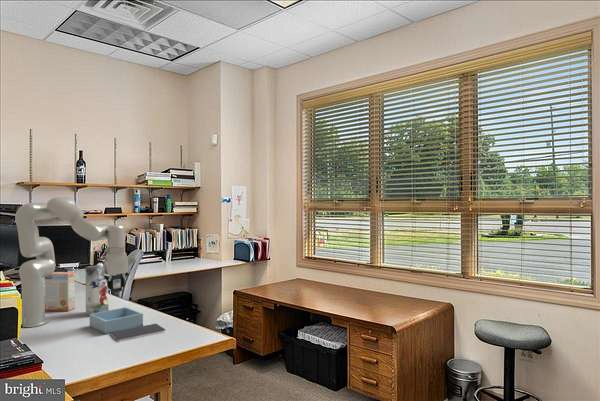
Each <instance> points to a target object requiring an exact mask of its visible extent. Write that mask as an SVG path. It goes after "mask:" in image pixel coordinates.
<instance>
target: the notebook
mask: <svg viewBox="0 0 600 401" xmlns="http://www.w3.org/2000/svg"><path fill="white" fill-rule="evenodd" d="M162 333H166V329H165V328H164V327H162V326H161V325H159V323H158V324H157V323H151V324H146V325H143V326H140V327H135V328H130V329H125V330H120V331H114V332H110V334H111V336H112V337H113V338H114V339H115V340H116V341H117V342H123V341H128V340H129V341H130V340H134V339H138V338H142V337H143V338H144V337H149V336H153V335H158V334H162ZM110 334H109V335H110Z"/></svg>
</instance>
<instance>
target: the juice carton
mask: <svg viewBox="0 0 600 401" xmlns="http://www.w3.org/2000/svg"><path fill="white" fill-rule="evenodd" d="M84 269H85V270H84V271H85V314H86V315H87V316H90V314H93V313H98V312H103V311H108V310H109V289H108V287H107V280H106V279H105V278H103V277H102V276H101V275H100V273H101V272H102V271H103V269H104V264H103V263H102V262H101V263H97V264H96V265H93V266H92V265H90V266H85V267H84ZM105 275H106V276H107V274H105Z"/></svg>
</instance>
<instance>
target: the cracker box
mask: <svg viewBox="0 0 600 401" xmlns="http://www.w3.org/2000/svg"><path fill="white" fill-rule="evenodd" d="M44 291H45V312H49V311H50V312H70V311H72V310H74V309H75V308H76V306H75V272H74V271H54V272H53V273H52V274H51V275H48V276H45V277H44Z"/></svg>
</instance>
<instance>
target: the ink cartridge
mask: <svg viewBox="0 0 600 401" xmlns="http://www.w3.org/2000/svg"><path fill="white" fill-rule="evenodd" d="M111 281H112V289H109V290H110V292H111V293H118V292H120V293H121V292H122V291H123V287H122V275H120V274H116V275H112V278H111Z"/></svg>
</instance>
